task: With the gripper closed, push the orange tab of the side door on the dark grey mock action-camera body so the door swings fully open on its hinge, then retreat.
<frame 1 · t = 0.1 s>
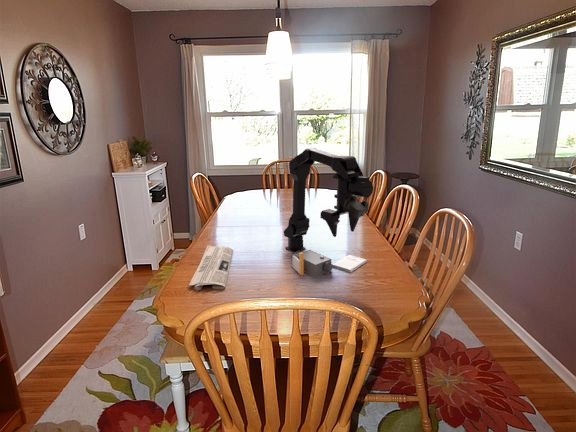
hand: (343, 234, 137), 15 cm above the table, fingers open, 9 cm apart
newspaper: (213, 269, 145), on the table
camera body: (312, 268, 143), on the table
side door: (297, 260, 140), point 4 cm above the table, hinge at 15.0°
external hard drive: (349, 266, 147), on the table
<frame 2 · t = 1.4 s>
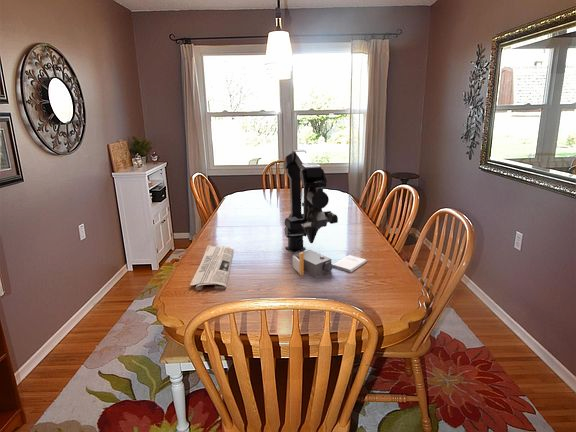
hand: (311, 242, 136), 12 cm above the table, fingers closed
nothing on the table moved.
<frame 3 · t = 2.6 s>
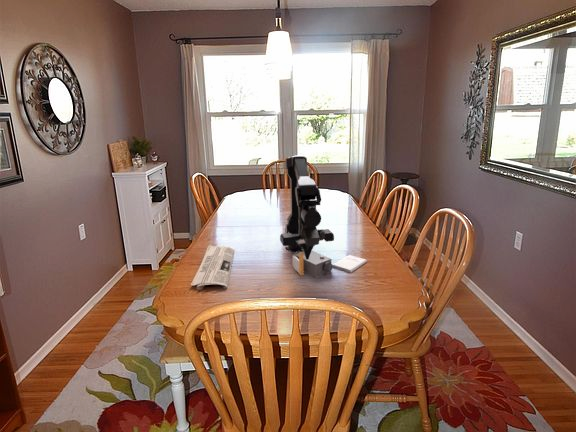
hand: (307, 259, 137), 6 cm above the table, fingers closed
side door: (297, 260, 140), point 4 cm above the table, hinge at 15.6°, touching gripper
everything else where it was.
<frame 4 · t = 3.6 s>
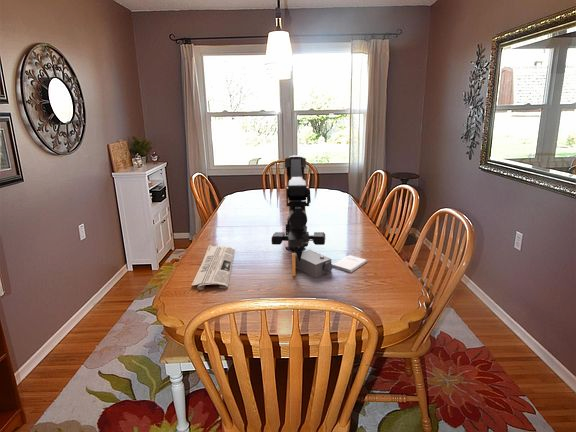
hand: (299, 260, 136), 6 cm above the table, fingers closed
side door: (293, 260, 140), point 4 cm above the table, hinge at 38.7°, touching gripper
everything else where it was.
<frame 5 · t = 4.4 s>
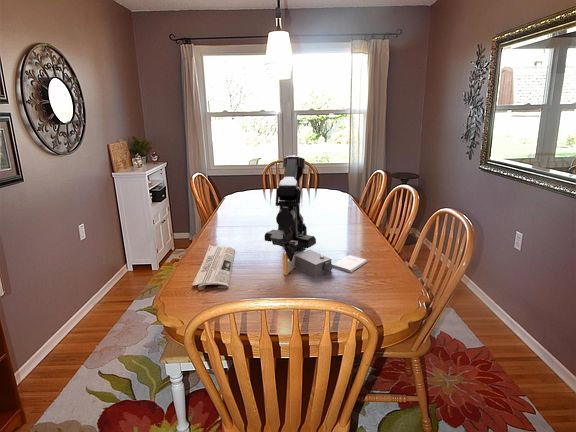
hand: (290, 260, 135), 6 cm above the table, fingers closed
side door: (289, 260, 140), point 4 cm above the table, hinge at 63.6°, touching gripper
everything else where it was.
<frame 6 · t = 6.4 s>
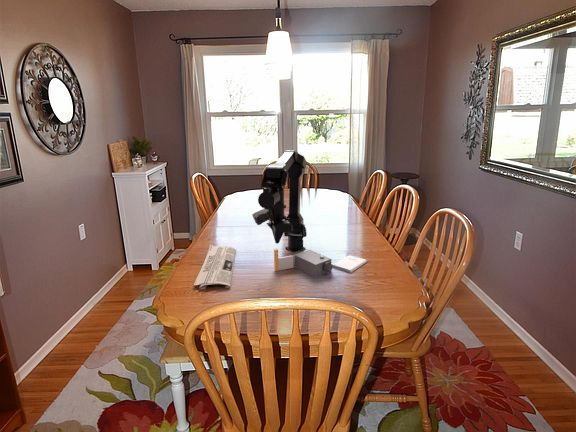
hand: (277, 243, 137), 12 cm above the table, fingers closed
side door: (284, 258, 142), point 4 cm above the table, hinge at 107.3°
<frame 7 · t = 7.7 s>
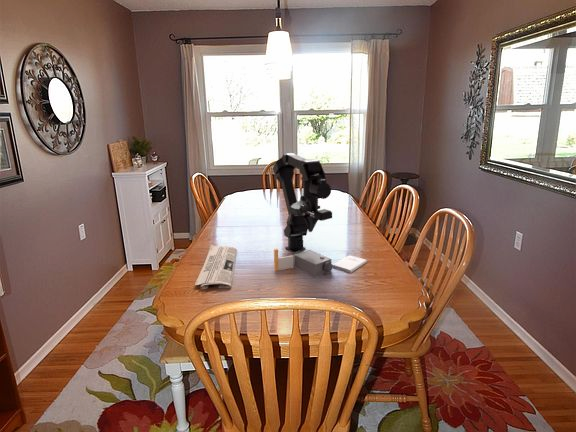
hand: (310, 231, 148), 12 cm above the table, fingers closed
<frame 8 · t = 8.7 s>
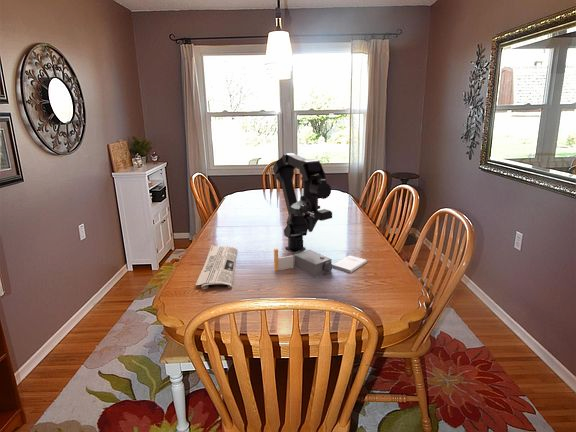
hand: (310, 231, 148), 12 cm above the table, fingers closed
at the end: side door at +107° (first picture: +15°) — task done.
